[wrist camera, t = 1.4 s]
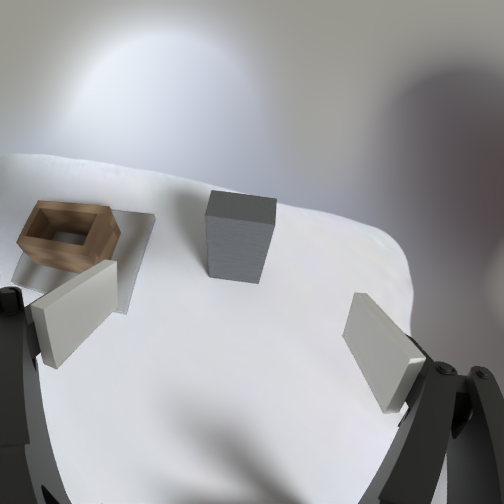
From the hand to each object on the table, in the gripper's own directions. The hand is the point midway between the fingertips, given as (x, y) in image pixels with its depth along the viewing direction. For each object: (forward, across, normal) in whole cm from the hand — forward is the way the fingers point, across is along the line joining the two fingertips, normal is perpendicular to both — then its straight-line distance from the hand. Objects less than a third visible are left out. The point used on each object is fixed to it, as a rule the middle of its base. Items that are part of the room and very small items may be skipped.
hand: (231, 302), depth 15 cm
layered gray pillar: (+20, 0, -4) cm, 20 cm away
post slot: (+19, -22, -5) cm, 30 cm away
